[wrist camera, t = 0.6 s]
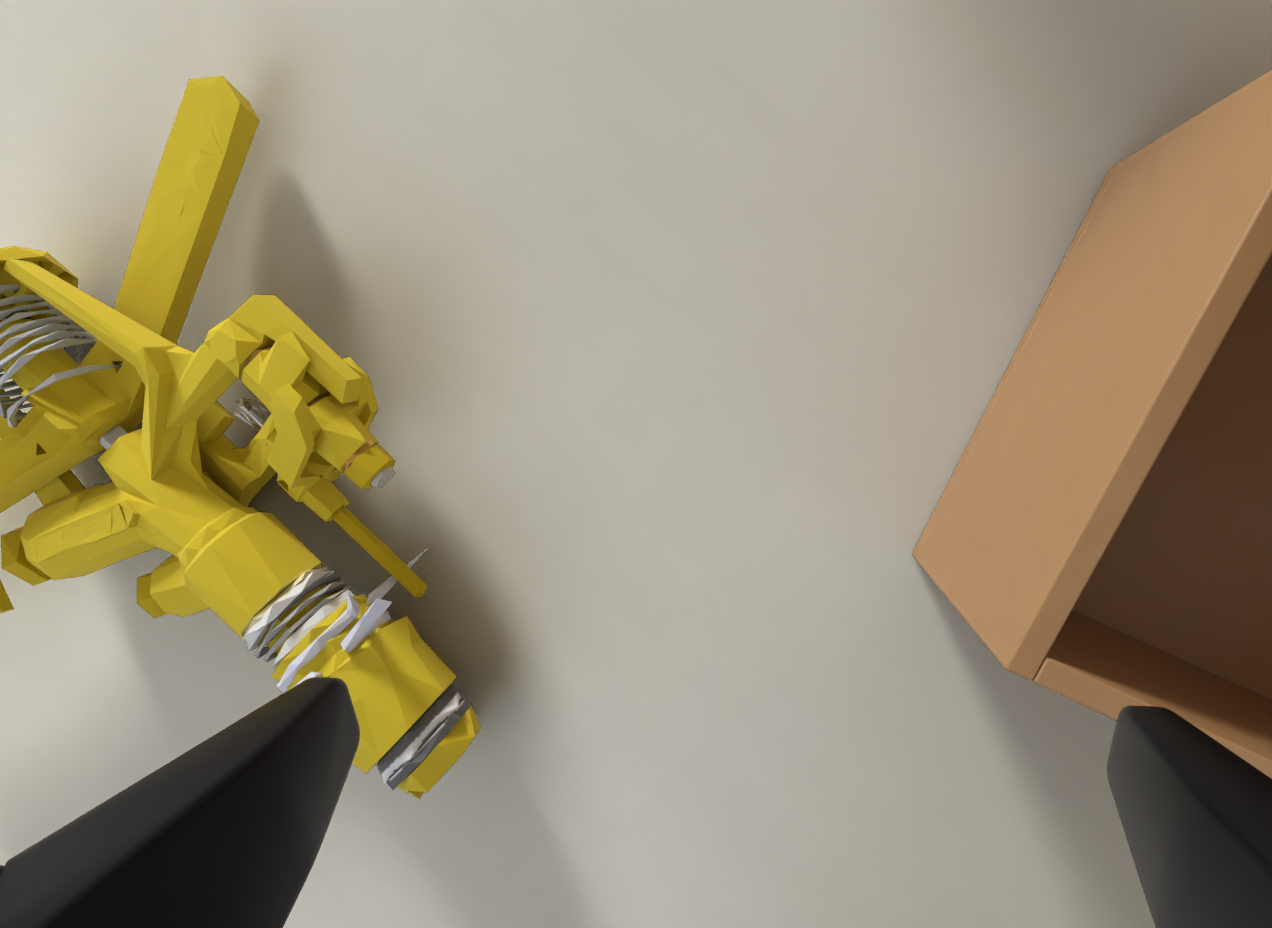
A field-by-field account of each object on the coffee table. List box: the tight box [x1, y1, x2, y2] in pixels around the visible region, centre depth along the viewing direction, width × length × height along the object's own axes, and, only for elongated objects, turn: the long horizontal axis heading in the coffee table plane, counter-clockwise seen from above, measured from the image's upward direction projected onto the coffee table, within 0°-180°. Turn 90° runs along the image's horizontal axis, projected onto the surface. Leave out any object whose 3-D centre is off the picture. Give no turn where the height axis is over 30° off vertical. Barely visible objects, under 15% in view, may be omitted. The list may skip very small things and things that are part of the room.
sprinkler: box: [0, 76, 481, 799], centre depth 22 cm, size 22×6×20 cm
